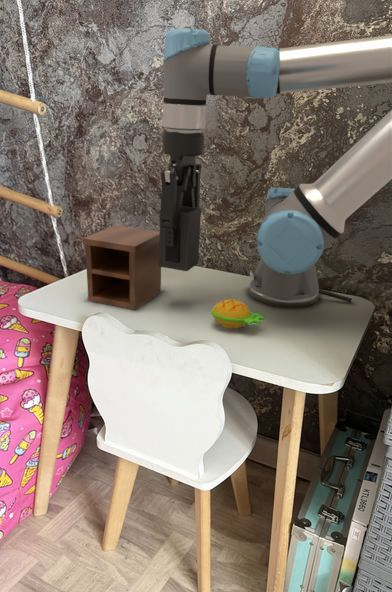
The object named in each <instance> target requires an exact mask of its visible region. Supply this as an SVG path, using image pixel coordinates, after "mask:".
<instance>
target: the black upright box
mask: <svg viewBox="0 0 392 592" xmlns="http://www.w3.org/2000/svg"><path fill="white" fill-rule="evenodd" d="M160 214H161V209H160V210H159V215H160ZM201 218H202V208H201V207H199V208H195V207H187V206H182V207H181V213H180V220H179V227H178V228H181V234H180V262H179V263H175V262H169V261H165V246H166V228H164V227H161V226H160V225H159V232H160V238H159V267H161V268H164V269H172V270H177V271H182V272H188V271H190V270H191V269H192V268H194V267H196V266H197V265H199V259H200V257H199V256H200V240H201V239H200V238H201V237H200V236H201V221H202V220H201Z"/></svg>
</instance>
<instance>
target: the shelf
mask: <svg viewBox="0 0 392 592" xmlns="http://www.w3.org/2000/svg"><path fill="white" fill-rule="evenodd" d="M159 238H160V231H157V230H150V229H142V228H135V227H130V226H129V227H128V226H123V225H113V226H110V227H108V228H105V229H103V230H100V231H97V232H95V233H93V234H90V235H88V236H85V237H82V244H83V245H84V246H85V249H84V250H85V263H86V264H85V265H86V282H87V284H86V286H87V301H88V302H93V303H97V304H102V305H107V306H113V307H118V308H123V309H127V310H128V309H129V310H132V311H136V310H137V309H139V308H140V307H142V306H143V305H145V304H146V303H147V302H149V301H150V300H151V299H153V298H154V297H156V296H157V295H158V294H160V293H161V292H162V267H159Z"/></svg>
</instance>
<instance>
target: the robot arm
mask: <svg viewBox="0 0 392 592" xmlns="http://www.w3.org/2000/svg"><path fill="white" fill-rule="evenodd" d="M164 37H165V38H164V51H163V53H164V54H163V59H162V63H163V101H162V102H163V104H162V106H163V107H162V109H161V114H162V127H163V128H164V129H165V130H164V131H163V132H162V136H161V137H162V138H161V140H162V141H161V142H162V143H161V144H162V145H161V151H162V153H163V154H165V155H168V156H169V162H168V169H161V171H160V177H161V178H160V179H161V195H160V210H161V214H160V213H159V227H160V226H161V227H164V228H166V246H165V261H169V262H175V263H179V262H180V234H181V228H178V227H179V220H180V213H181V207H182V206H187V207H195V208H200V200H201V199H200V197H201V175H202V167H203V166H202V163H198V162H197V161H196V157H199V156H202V155H203V154H204V152H205V134H204V133H203V132H202V131H204V130H205V129H206V123H207V122H206V119H207V96H222V97H223V96H224V97H234V98H236V97H237V98H252V99H254V100H256V99H258V100H259V99H272V98H274V97H275V96H276V95H280V94H289V93H290V94H291V93H300V92H301V93H302V92H310V91H320V90H330V89H331V90H332V89H340V88H341V89H342V88H351V87H361V86H371V85H381V84H382V85H383V84H392V34H388V35H380V36H371V37H363V38H356V39H355V38H353V39H347V40H339V41H332V42H323V43H314V44H305V45H298V46H290V47H281V48H277V47H270V46H269V47H267V46H262V45H255V46H254V45H252V46H251V45H219V44H214V43H213V44H212V43H211V40H210V39H211V38H210V33H209V31H207V30H204V29H198V28H197V29H196V28H171V29H169V30H168V31H167V33H166V34H165V36H164ZM391 180H392V109H391V110H389V111H388V113H386V114H385V115H384V116H383V117H382V118H381V119H380V120H379V121H378V122H377V123H375V125H374V126H372V128H371V129H369V130H368V131H367V132H366V133H365V135H363V136H362V137H361V138H360V139H359V140H358V141H357V142H356V143H355V144H353V146H352V147H350V148H349V149H348V150H347V151H346V152H345V153H344V154H343V155H342V156H341V157H340V158H339V159H338V160H337V161H336V162H334V163H333V165H331V166H330V167H329V168H328V169H327V170H326V171H325V172H324V173H323V174H322V175H320V176H319V178H318V179H317V180H316V181H314V182H312V183H300V184H299V185H298V186H297V187H296V188H290V187H270V189H268V190H267V194H266V198H265V212H264V217H263V220H262V222H261V224H260V226H259V227H258V229H257V232H256V233H257V234H256V247H257V251H258V254H259V256H260V260H259V262H258V265H257V266H256V268H255V271H254V273H253V271H252V270H251V269H249V277H250V278H251V280H250V283H249V296H251V298H253V299H255V300H256V301H258V302H260V303H264V304H267V305H271V306H276V307H283V308H300V307H307V306H311V305H313V304H315V303H317V301H319V297H320V295H324V296H327V297H331V298H335V299H338V300H341V301H345V302H348V303H351V302H352V300H353V298H351V297H348V296H345V295H342V294H338V293H335V292H332V291H328V290H325V289H324V290H323V289H320V286H319V279H318V274H317V270H316V263H317V262H318V260H320V259H321V256H322V254H323V251H324V250H325V249H326V248H327V247H329V246H330V245H331V244H332V243H333V242H335V240H337V239H338V238H339V237H340V236H342V234H343V233H344V232H345V224H346V220H347V219H348V218H349V217H350V216H351V215H353V213H355V212H356V211H357V210H358V209H359V208H360V207H361V206H363V205H364V204H365V203H366V202H368V201H369V200H370V199H371V198H372V197H373V196H374V195H375V194H376V193H378V192H379V191H380V190H381V189H383V188H384V187H385V186H386V185H387V184H388V183H389V182H390V181H391Z"/></svg>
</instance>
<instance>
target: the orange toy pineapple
mask: <svg viewBox="0 0 392 592" xmlns="http://www.w3.org/2000/svg"><path fill="white" fill-rule="evenodd" d="M250 310H251V309H250V308H249V307H248V306H247V305H246V304H245V303H244V302H241V300H238V299H231V298H228V299H227V298H226V299H223V300H222V301H218V302H217V303H216V304H215V305H214V307H213V308H212V309H211V310H210V314H211V315H212V317H213V320H214V321H215V322H216V323H217V324H218V325H220V326H222V327H224V328H226V329H239V328H241V327H243V326H246V325H253V324H261V322H262V321H264V320H265V317H264V316H263V315H261V313H260V312H251V311H250Z"/></svg>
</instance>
